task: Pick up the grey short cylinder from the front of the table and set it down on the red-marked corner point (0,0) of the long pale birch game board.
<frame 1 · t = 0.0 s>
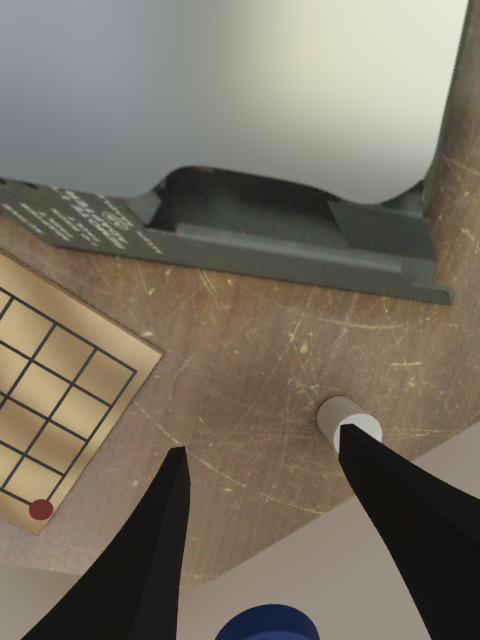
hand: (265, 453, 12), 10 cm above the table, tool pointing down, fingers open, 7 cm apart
grey short cylinder: (337, 417, 23), on the table
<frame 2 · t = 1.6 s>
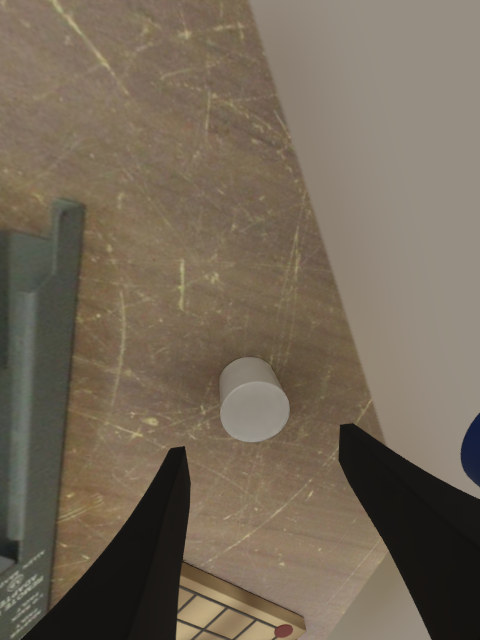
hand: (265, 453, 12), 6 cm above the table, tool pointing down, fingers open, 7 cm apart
grey short cylinder: (247, 383, 18), on the table
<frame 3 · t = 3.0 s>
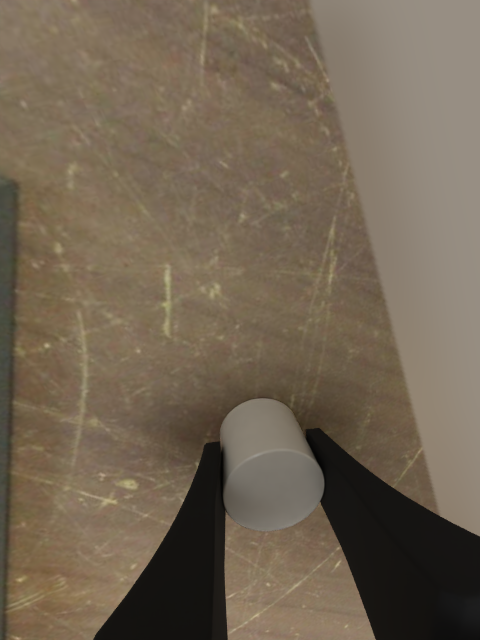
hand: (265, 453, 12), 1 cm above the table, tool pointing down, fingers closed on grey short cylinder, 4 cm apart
grey short cylinder: (259, 432, 13), on the table, touching gripper
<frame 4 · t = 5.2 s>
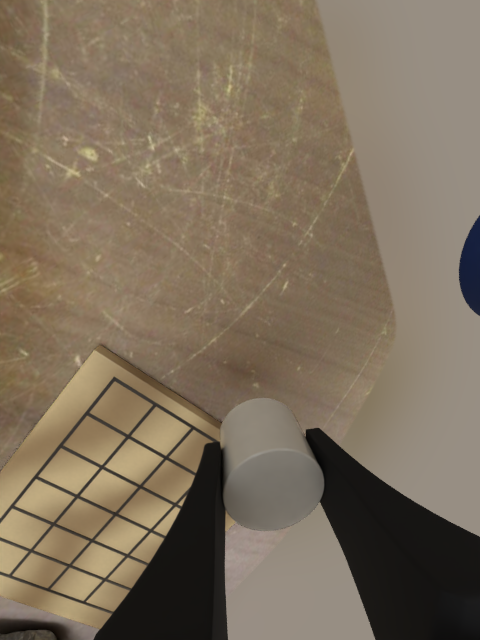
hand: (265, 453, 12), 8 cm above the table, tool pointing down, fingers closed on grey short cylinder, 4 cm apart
grey short cylinder: (258, 431, 13), point 7 cm above the table, touching gripper
board: (95, 529, 22), on the table
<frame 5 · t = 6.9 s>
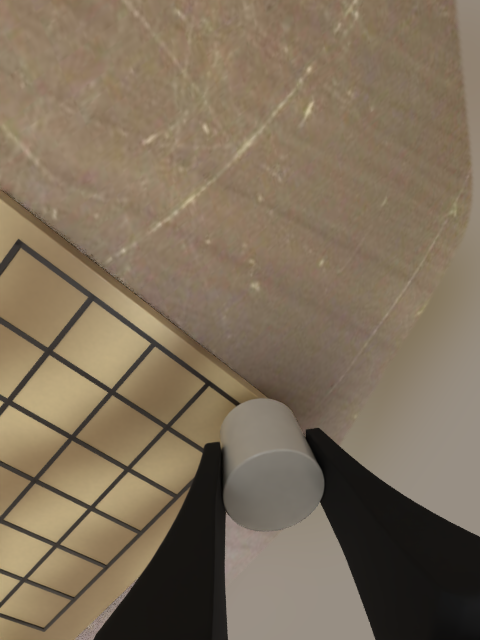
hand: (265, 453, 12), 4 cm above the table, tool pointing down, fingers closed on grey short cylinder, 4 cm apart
grey short cylinder: (259, 432, 13), point 2 cm above the table, touching gripper
board: (11, 504, 15), on the table
when the fingers open (2 cm above the table, at t = 7.7 s): grey short cylinder stays where it is, resting on board.
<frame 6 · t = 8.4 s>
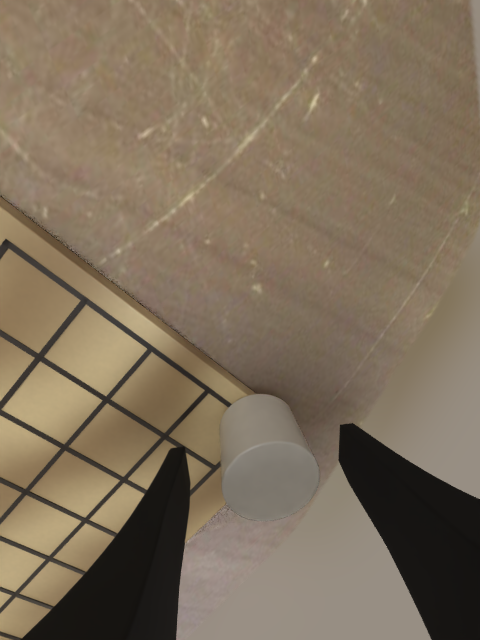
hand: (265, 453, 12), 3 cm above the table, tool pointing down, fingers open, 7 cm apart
grey short cylinder: (257, 427, 13), point 1 cm above the table, touching board
board: (2, 516, 15), on the table
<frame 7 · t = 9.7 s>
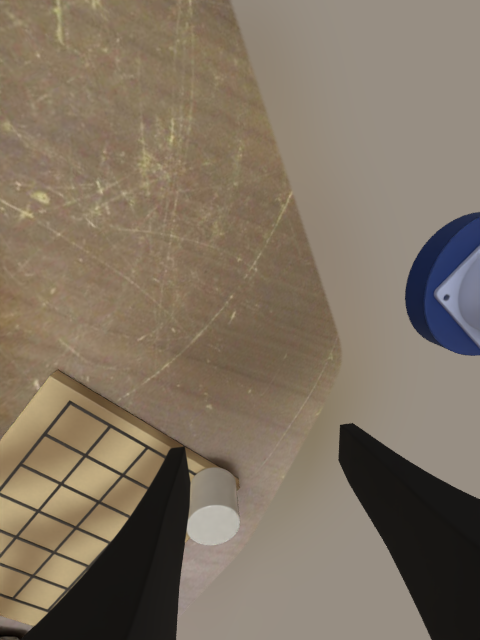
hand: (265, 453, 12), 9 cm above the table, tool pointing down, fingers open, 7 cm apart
grey short cylinder: (213, 485, 22), point 1 cm above the table, touching board
board: (59, 541, 24), on the table
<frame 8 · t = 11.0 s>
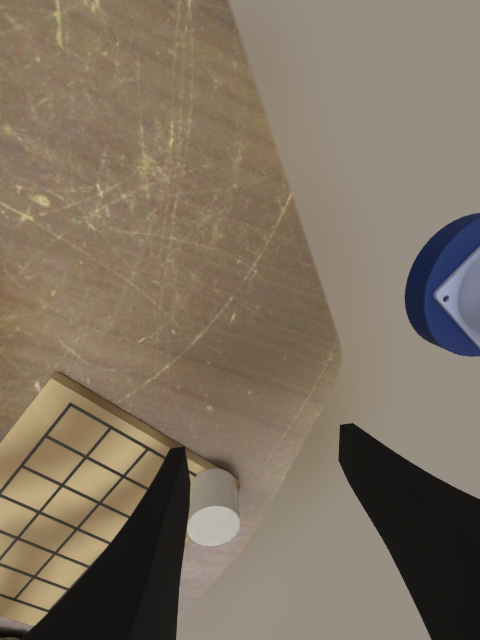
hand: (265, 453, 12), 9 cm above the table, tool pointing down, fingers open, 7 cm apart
grey short cylinder: (213, 486, 22), point 1 cm above the table, touching board
board: (60, 542, 24), on the table
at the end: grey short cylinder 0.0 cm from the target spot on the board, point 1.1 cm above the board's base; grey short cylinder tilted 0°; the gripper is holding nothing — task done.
